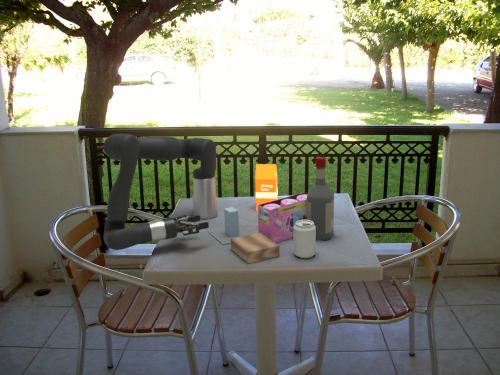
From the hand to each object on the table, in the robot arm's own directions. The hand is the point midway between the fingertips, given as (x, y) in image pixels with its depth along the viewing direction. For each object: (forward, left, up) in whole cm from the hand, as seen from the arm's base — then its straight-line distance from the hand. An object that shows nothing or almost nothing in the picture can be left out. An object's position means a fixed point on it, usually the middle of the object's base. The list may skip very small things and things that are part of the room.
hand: (204, 221), depth 192 cm
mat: (+6, +10, -8) cm, 14 cm away
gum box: (+24, +21, -8) cm, 33 cm away
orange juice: (+1, +42, -8) cm, 43 cm away
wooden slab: (+22, 0, -8) cm, 23 cm away
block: (+5, +10, -7) cm, 13 cm away
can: (+38, +7, -8) cm, 40 cm away
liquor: (+35, +25, -8) cm, 44 cm away
